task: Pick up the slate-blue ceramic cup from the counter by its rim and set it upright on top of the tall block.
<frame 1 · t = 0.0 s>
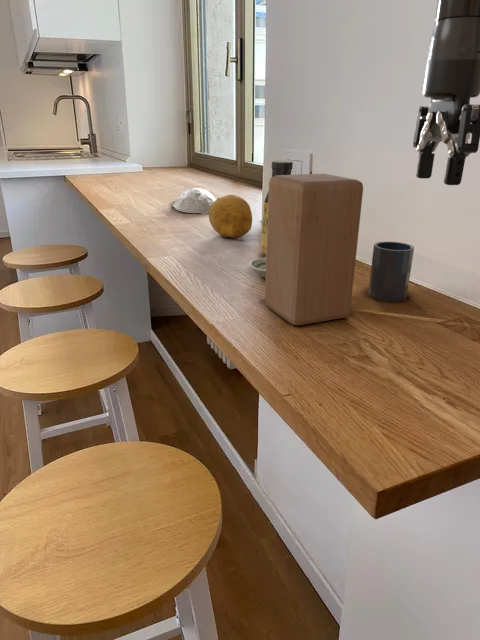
hand: (436, 181, 74), 19 cm above the worktop, tool pointing down, fingers open, 8 cm apart
block: (305, 313, 76), on the worktop
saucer: (274, 276, 93), on the worktop
cup: (386, 299, 82), on the worktop
white lumpy mound: (196, 208, 162), on the worktop
sauce bottle: (276, 260, 104), on the worktop
potato: (231, 236, 124), on the worktop
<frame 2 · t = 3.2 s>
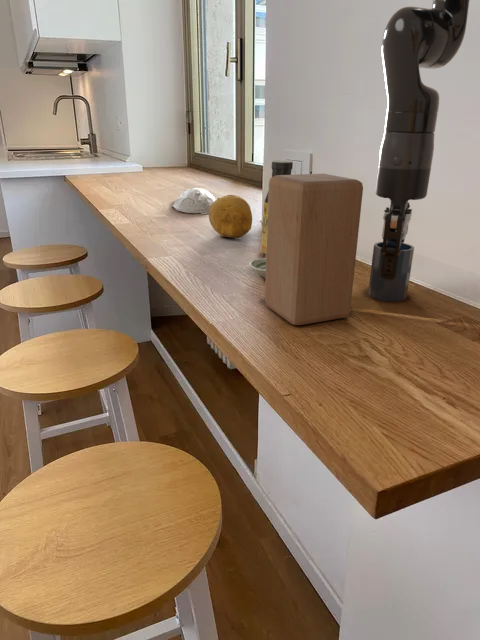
hand: (389, 272, 80), 5 cm above the worktop, tool pointing down, fingers closed on cup, 6 cm apart
cup: (386, 299, 82), on the worktop, touching gripper
everything else where it was.
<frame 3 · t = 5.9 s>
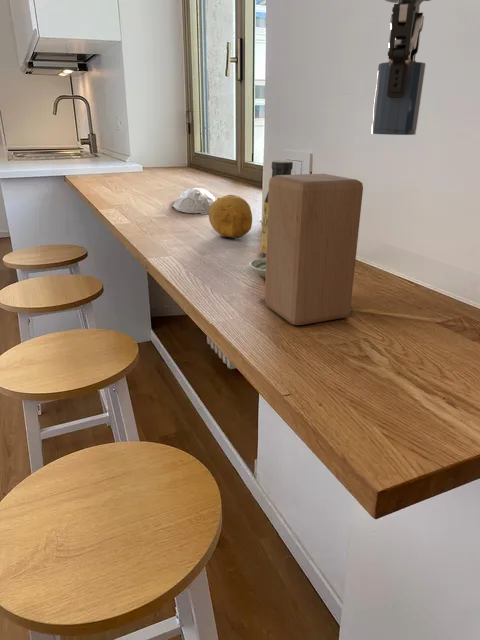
hand: (397, 98, 69), 30 cm above the worktop, tool pointing down, fingers closed on cup, 6 cm apart
cup: (393, 134, 71), point 26 cm above the worktop, touching gripper
everything else where it was.
when the fingers open (25 cm above the worktop, at t = 8.8 s): cup stays where it is, resting on block.
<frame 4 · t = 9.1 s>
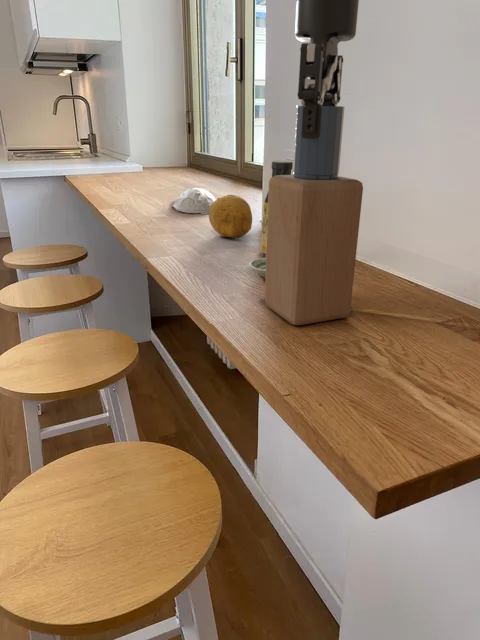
hand: (317, 137, 66), 25 cm above the worktop, tool pointing down, fingers open, 8 cm apart
block: (305, 313, 76), on the worktop, touching cup
cup: (315, 177, 68), point 20 cm above the worktop, touching block
everything else where it was.
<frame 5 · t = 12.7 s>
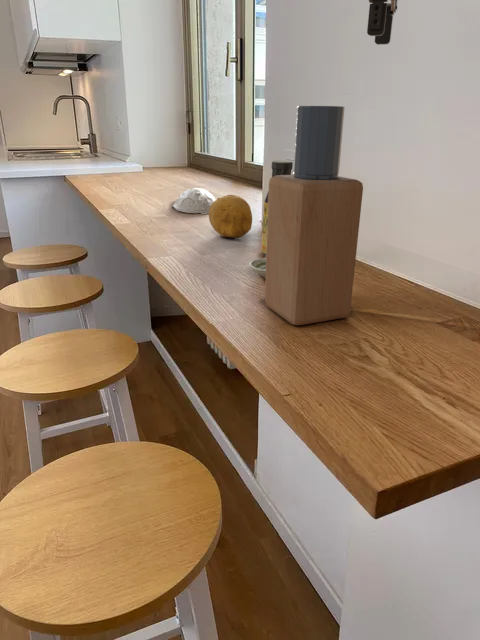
hand: (378, 40, 71), 38 cm above the worktop, tool pointing down, fingers open, 8 cm apart
nothing on the worktop moved.
at the end: cup inside the target area on the block (0.1 cm from its centre), point 20.2 cm above the block's base; cup tilted 0°; the gripper is holding nothing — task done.
